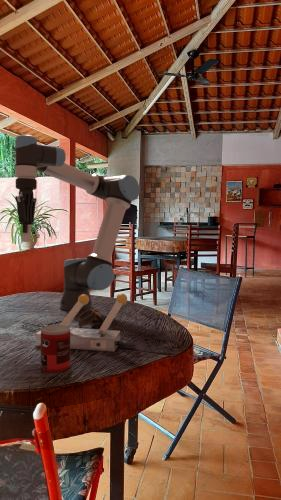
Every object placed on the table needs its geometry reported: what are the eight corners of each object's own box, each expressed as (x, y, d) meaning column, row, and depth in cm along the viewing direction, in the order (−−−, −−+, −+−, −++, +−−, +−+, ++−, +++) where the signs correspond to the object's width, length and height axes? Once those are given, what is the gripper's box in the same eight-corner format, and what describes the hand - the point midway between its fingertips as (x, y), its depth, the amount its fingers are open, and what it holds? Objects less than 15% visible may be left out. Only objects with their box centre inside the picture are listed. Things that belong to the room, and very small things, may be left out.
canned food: (43, 362, 108) (43, 324, 107) (71, 361, 109) (71, 324, 108) (38, 373, 101) (38, 332, 100) (68, 372, 101) (68, 332, 100)
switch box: (47, 337, 131) (47, 326, 131) (137, 343, 126) (138, 332, 125) (35, 346, 121) (35, 334, 121) (132, 353, 116) (132, 340, 116)
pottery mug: (105, 333, 139) (95, 315, 137) (83, 342, 141) (72, 325, 138) (109, 316, 150) (99, 300, 148) (88, 325, 152) (78, 309, 150)
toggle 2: (98, 327, 125) (121, 290, 123) (107, 333, 125) (130, 296, 123) (94, 331, 121) (118, 292, 119) (104, 337, 120) (127, 298, 118)
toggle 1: (58, 324, 127) (84, 290, 125) (66, 331, 127) (92, 297, 125) (53, 328, 123) (80, 293, 121) (62, 335, 123) (89, 300, 120)
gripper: (24, 180, 147) (25, 240, 149) (7, 176, 134) (8, 242, 136) (43, 180, 146) (43, 241, 148) (27, 176, 133) (28, 243, 135)
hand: (26, 241), depth 142 cm, fingers closed
